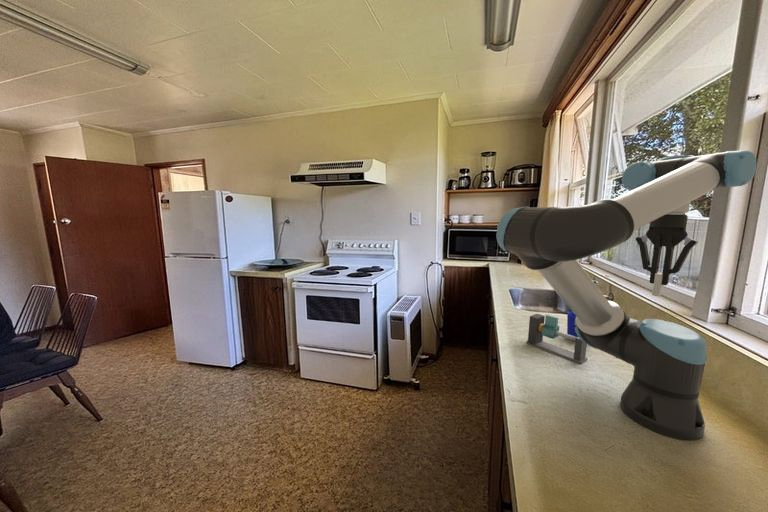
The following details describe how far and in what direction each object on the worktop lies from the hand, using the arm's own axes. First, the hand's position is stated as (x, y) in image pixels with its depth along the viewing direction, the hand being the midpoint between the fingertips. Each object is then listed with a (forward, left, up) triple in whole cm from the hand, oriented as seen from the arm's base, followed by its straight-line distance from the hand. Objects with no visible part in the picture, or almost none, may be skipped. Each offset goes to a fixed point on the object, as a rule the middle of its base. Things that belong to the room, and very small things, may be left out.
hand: (656, 295), depth 86 cm
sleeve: (+11, +24, -21) cm, 34 cm away
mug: (+26, +10, -27) cm, 38 cm away
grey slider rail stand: (+10, +22, -26) cm, 36 cm away
